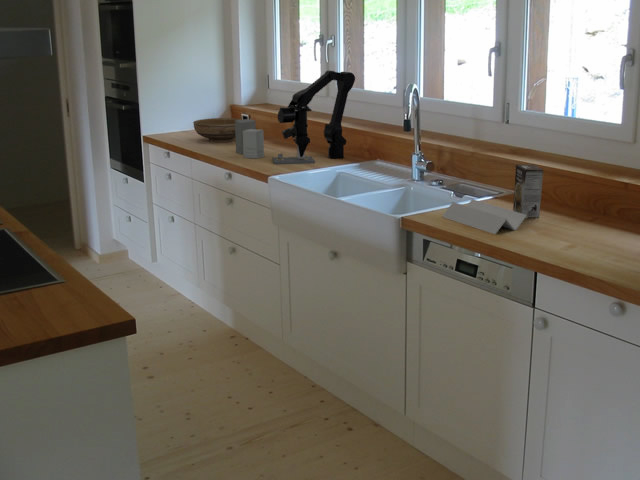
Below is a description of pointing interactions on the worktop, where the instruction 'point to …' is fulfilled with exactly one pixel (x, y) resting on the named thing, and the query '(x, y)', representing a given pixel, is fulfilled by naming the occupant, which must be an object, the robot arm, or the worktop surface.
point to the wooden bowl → (216, 129)
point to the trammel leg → (299, 154)
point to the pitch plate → (292, 160)
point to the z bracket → (484, 216)
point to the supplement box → (253, 143)
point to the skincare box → (239, 128)
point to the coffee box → (528, 190)
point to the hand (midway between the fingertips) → (300, 156)
